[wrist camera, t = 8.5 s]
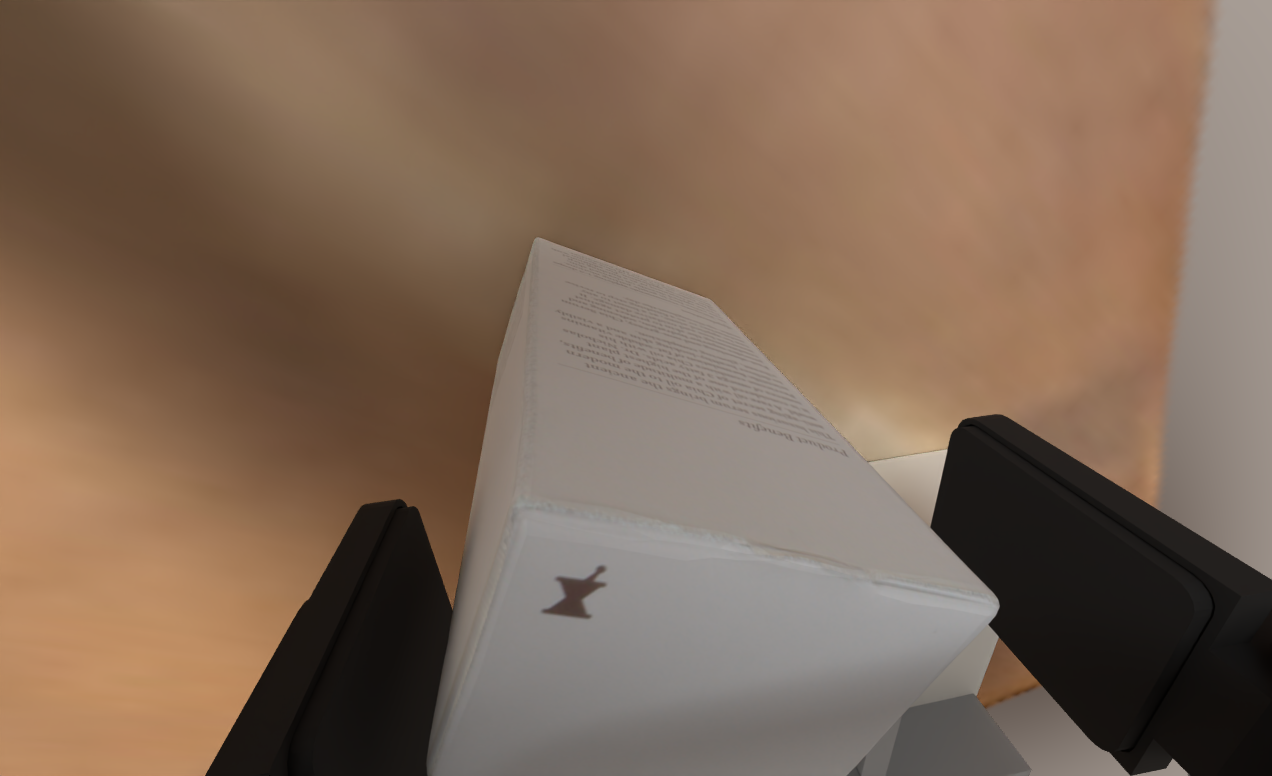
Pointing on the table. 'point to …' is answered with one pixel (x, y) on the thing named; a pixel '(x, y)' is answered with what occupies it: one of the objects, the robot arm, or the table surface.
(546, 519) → the skincare box
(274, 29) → the table surface
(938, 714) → the white socket tray
